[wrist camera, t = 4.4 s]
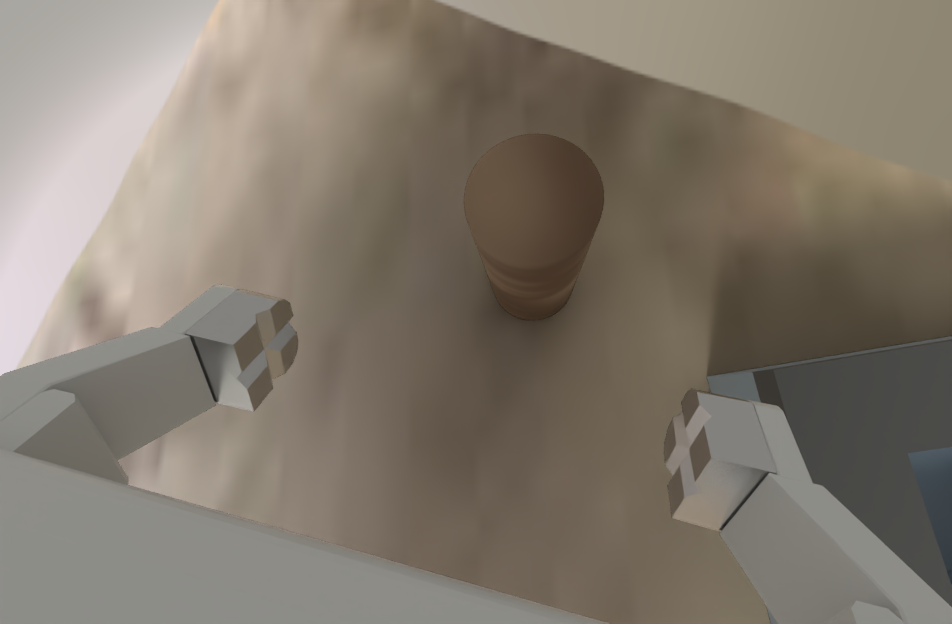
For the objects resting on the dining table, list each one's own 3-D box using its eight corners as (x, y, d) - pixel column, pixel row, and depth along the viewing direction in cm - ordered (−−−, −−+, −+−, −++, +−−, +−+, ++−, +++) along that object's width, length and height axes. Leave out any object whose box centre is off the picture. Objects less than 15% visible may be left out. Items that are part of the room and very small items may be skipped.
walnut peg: (499, 326, 23) (476, 277, 13) (486, 250, 24) (454, 149, 14) (580, 312, 22) (618, 249, 13) (564, 235, 23) (587, 120, 13)
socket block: (781, 666, 19) (893, 788, 13) (706, 376, 21) (773, 369, 15) (1102, 631, 18) (1380, 747, 12) (986, 330, 20) (1172, 304, 14)
